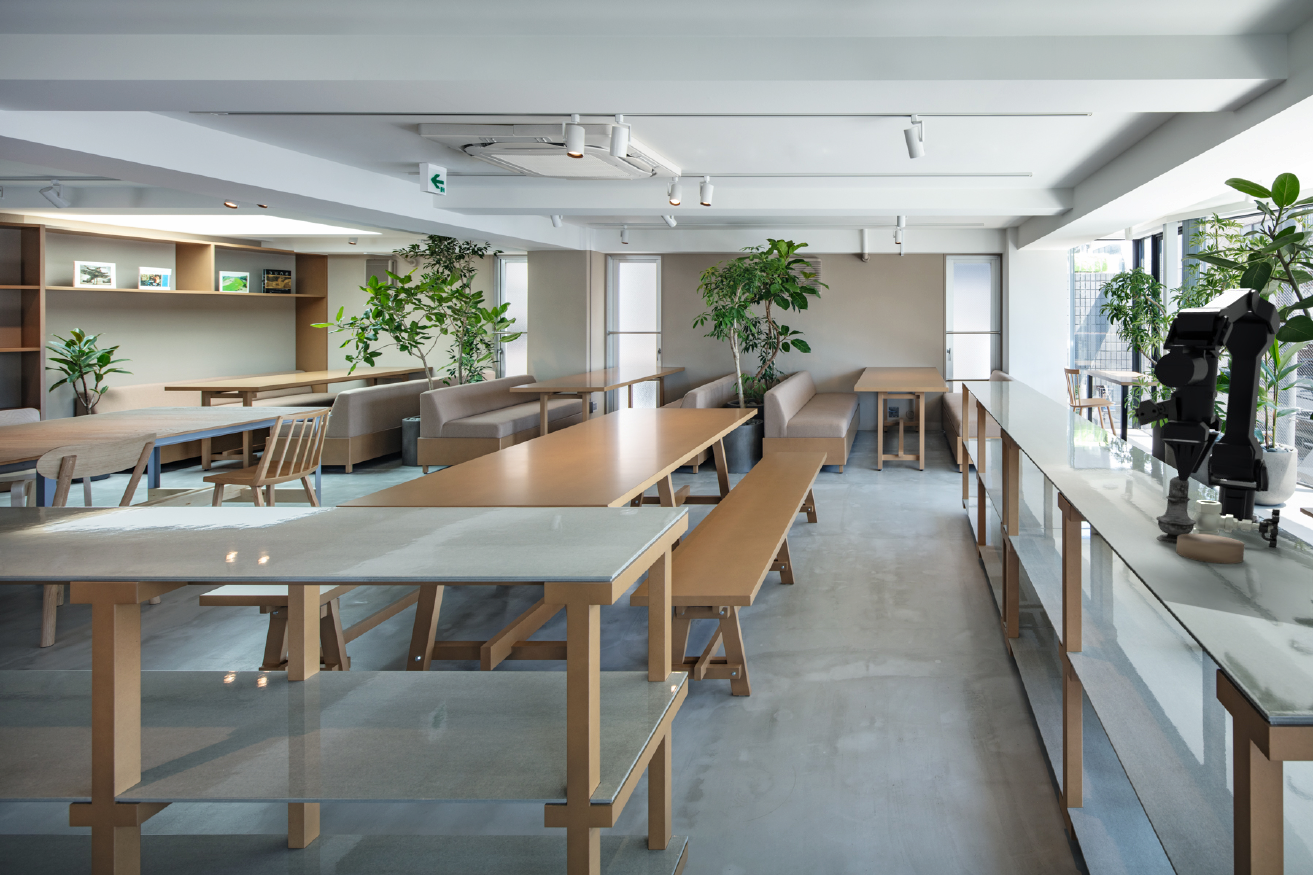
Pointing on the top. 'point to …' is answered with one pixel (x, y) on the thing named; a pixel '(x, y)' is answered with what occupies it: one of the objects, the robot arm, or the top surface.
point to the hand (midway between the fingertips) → (1188, 476)
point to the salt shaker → (1176, 512)
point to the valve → (1231, 522)
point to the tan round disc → (1210, 548)
